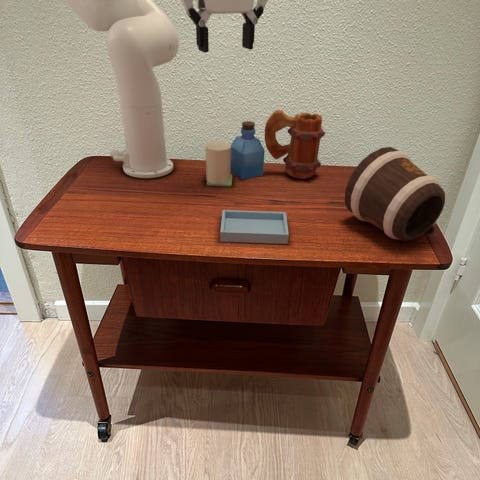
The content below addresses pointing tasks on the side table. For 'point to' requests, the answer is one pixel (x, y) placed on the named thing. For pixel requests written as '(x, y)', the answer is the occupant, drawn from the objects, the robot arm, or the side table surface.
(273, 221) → the tray
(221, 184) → the mat
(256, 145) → the perfume bottle
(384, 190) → the brown wooden barrel
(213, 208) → the side table surface
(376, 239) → the side table surface
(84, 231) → the side table surface
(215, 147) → the cream upright cylinder
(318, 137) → the mug
